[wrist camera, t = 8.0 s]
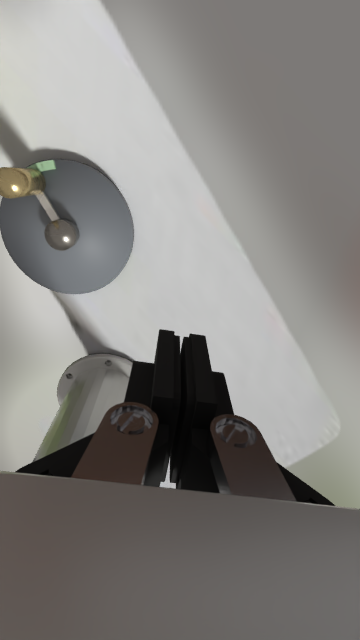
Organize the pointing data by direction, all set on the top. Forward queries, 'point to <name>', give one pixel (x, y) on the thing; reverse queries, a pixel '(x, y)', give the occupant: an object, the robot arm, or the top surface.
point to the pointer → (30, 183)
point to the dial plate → (91, 219)
